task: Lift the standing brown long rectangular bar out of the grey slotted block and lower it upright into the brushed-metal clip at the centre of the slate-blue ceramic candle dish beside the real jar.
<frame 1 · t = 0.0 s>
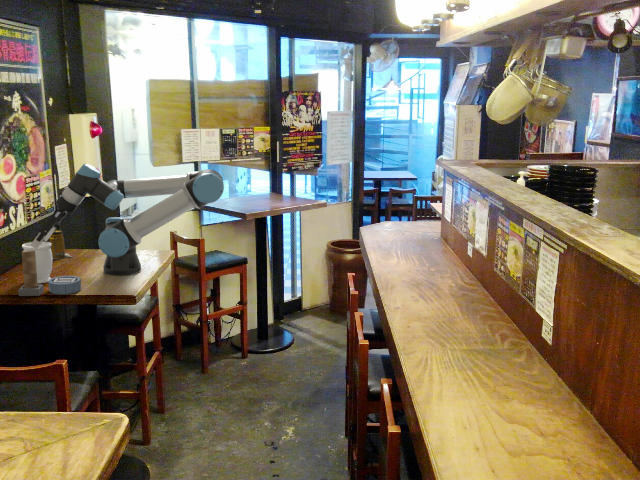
hand: (38, 243, 235), 15 cm above the table, tool tilted 35°, fingers open, 13 cm apart
jar: (39, 281, 238), on the table
brown long rectangular bar: (30, 272, 221), in the grey slotted block
condiment: (60, 257, 275), on the table
grey slotted block: (31, 293, 223), on the table
candle dish: (65, 290, 228), on the table
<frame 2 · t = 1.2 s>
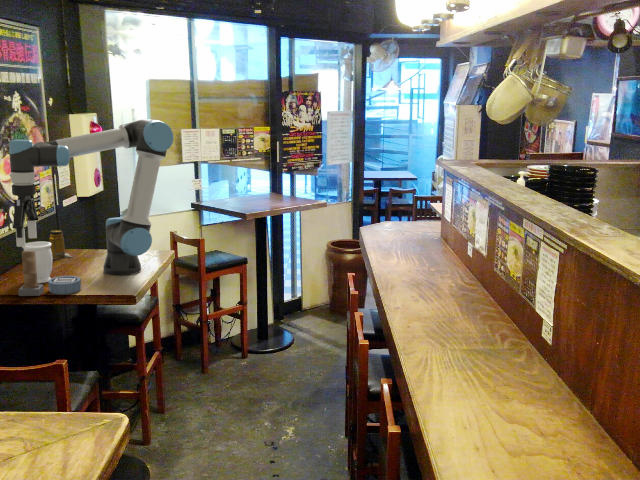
hand: (27, 242, 218), 19 cm above the table, tool pointing down, fingers open, 13 cm apart
nothing on the table moved.
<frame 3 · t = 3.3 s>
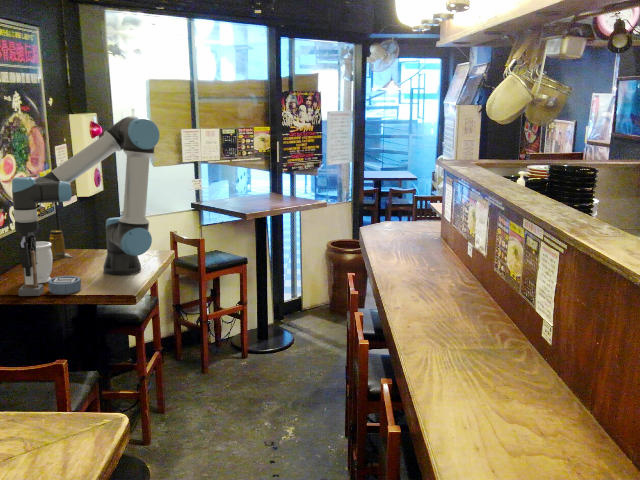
hand: (30, 283, 222), 4 cm above the table, tool pointing down, fingers closed on brown long rectangular bar, 2 cm apart
brown long rectangular bar: (30, 272, 221), in the grey slotted block, touching gripper
everything else where it was.
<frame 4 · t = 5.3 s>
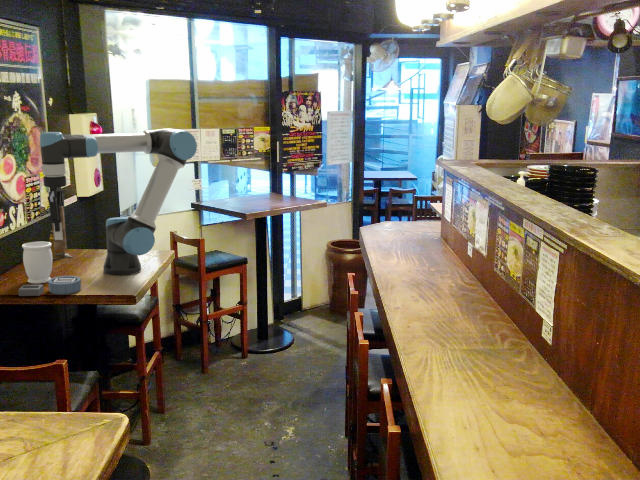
hand: (59, 238, 223), 20 cm above the table, tool pointing down, fingers closed on brown long rectangular bar, 2 cm apart
brown long rectangular bar: (58, 228, 222), point 24 cm above the table, touching gripper
everything else where it was.
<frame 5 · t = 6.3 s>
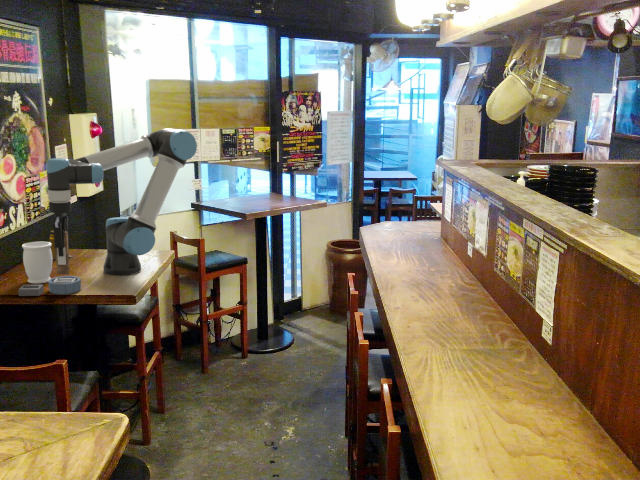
hand: (63, 263, 225), 11 cm above the table, tool pointing down, fingers closed on brown long rectangular bar, 2 cm apart
brown long rectangular bar: (62, 252, 225), point 14 cm above the table, touching gripper
everything else where it was.
when the fingers open (7 cm above the table, at t = 7.2 s): brown long rectangular bar drops 1 cm, resting on candle dish.
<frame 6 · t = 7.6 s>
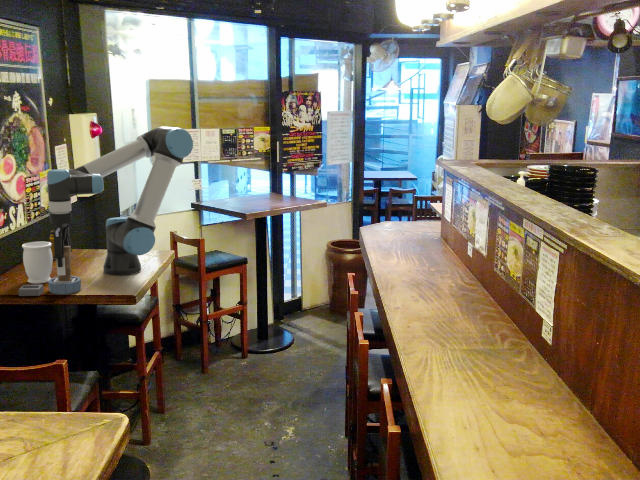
hand: (64, 271, 226), 7 cm above the table, tool pointing down, fingers open, 7 cm apart
brown long rectangular bar: (64, 267, 226), in the candle dish, point 9 cm above the table
everything else where it was.
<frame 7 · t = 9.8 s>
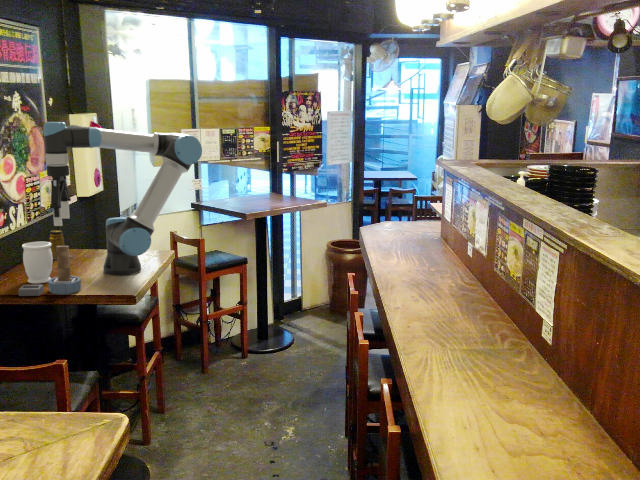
hand: (62, 222, 225), 26 cm above the table, tool pointing down, fingers open, 13 cm apart
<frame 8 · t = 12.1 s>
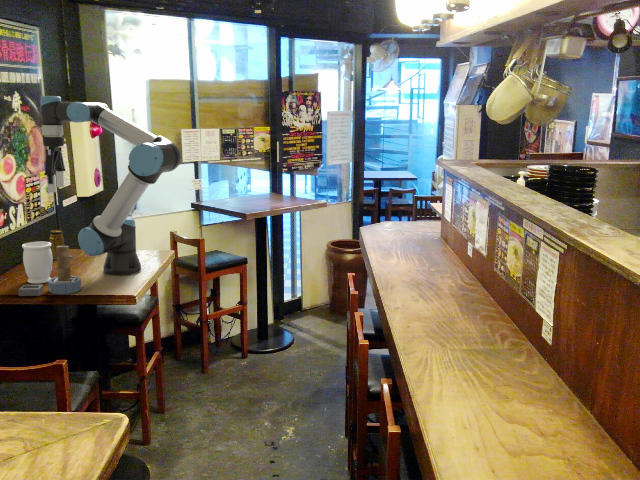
hand: (56, 189, 242), 35 cm above the table, tool pointing down, fingers open, 13 cm apart
nothing on the table moved.
at the end: brown long rectangular bar 0.0 cm off-centre on the candle dish, point 9.0 cm above the candle dish's base; brown long rectangular bar tilted 0°; the gripper is holding nothing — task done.
